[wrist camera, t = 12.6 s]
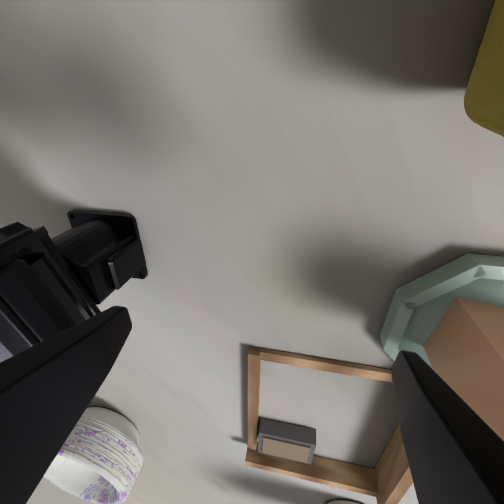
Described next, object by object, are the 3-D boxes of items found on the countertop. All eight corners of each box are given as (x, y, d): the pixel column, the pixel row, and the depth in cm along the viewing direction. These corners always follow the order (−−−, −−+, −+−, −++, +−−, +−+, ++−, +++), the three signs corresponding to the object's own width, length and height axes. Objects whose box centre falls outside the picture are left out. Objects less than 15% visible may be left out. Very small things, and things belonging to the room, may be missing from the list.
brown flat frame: (248, 444, 38) (242, 478, 35) (249, 346, 28) (241, 379, 25) (381, 475, 35) (389, 515, 32) (437, 377, 25) (457, 420, 22)
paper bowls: (79, 381, 39) (30, 439, 32) (167, 428, 41) (139, 493, 34) (62, 418, 47) (20, 471, 40) (137, 456, 48) (109, 514, 42)
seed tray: (260, 437, 37) (257, 454, 35) (261, 417, 34) (258, 434, 32) (310, 449, 35) (311, 466, 34) (315, 429, 33) (316, 446, 31)
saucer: (369, 363, 26) (373, 377, 24) (410, 247, 19) (417, 258, 18) (520, 388, 24) (533, 405, 22) (622, 267, 17) (649, 281, 16)
